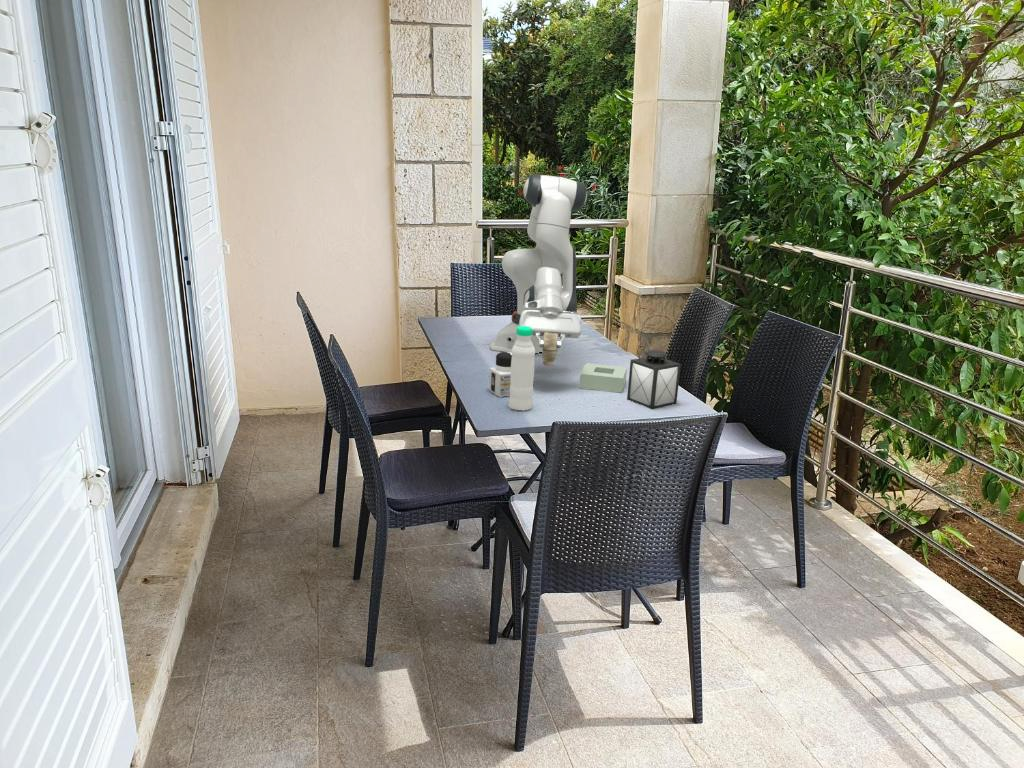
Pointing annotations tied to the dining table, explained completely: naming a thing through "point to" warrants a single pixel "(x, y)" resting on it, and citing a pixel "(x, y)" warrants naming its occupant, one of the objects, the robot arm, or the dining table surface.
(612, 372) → the hole block
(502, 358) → the container
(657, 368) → the lantern
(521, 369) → the water bottle
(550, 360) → the peg
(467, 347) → the dining table surface
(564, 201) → the robot arm
